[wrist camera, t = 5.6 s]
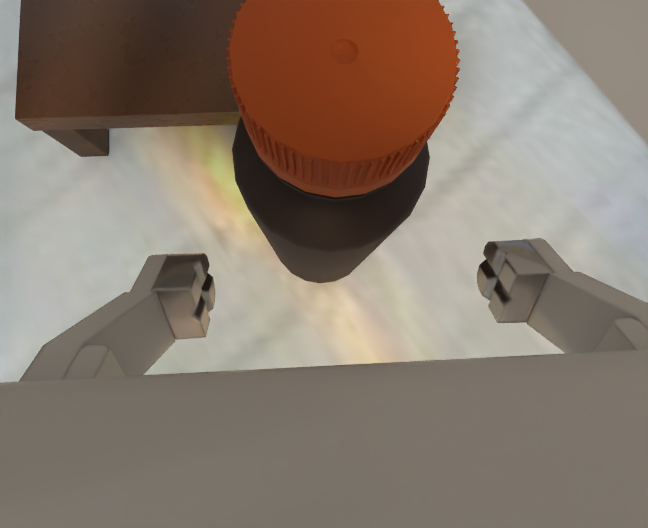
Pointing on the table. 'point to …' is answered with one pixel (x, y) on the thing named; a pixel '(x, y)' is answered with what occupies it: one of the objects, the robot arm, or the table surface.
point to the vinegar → (336, 121)
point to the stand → (123, 67)
